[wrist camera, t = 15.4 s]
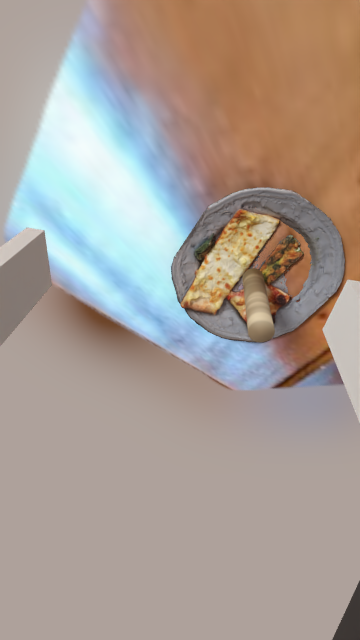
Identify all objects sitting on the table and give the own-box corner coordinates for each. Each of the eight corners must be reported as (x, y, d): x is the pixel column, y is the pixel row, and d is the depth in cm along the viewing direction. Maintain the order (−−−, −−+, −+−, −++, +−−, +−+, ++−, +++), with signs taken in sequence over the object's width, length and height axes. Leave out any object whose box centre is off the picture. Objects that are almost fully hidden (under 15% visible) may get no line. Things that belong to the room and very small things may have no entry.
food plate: (259, 354, 59) (261, 367, 56) (149, 291, 54) (145, 302, 51) (373, 247, 46) (383, 257, 43) (242, 149, 41) (243, 153, 38)
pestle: (245, 266, 47) (251, 320, 36) (265, 270, 47) (278, 324, 36) (240, 284, 48) (245, 340, 38) (260, 287, 48) (270, 344, 38)
